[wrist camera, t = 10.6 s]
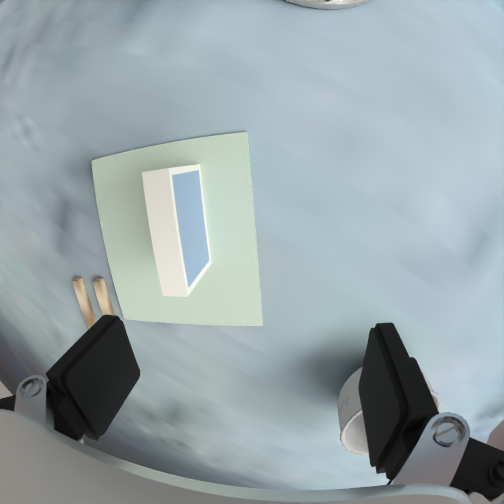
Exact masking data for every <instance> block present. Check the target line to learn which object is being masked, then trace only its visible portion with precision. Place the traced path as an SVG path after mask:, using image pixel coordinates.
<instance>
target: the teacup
mask: <svg viewBox="0 0 504 504" xmlns="http://www.w3.org/2000/svg"><path fill="white" fill-rule="evenodd" d="M362 367H363V366H362ZM362 367H361V368H359V369H358V370H357V371H355V372H354V373H353V374H352V375H351V376H350V377H349V378H348V379H347V380H346V382H345V383H344V385H343V387H342V389H341V391H340V394H339V398H338V415H339V424H340V430H341V434H340V440H341V443H342V445H343V446H344V448H345V449H346V450H349V451H350V452H353V453H355V454H360V455H369V451H368V444H367V437H366V431H365V425H364V419H363V413H362V407H361V402H360V397H359V391H358V386H359V380H360V376H361V372H362ZM421 372H422V370H421ZM422 374H423V376H424V378H425V381H426V383H427V385H428V387H429V390H430V392H431V395H432V397H433V399H434V402H435V404H436V407H437V409H438V412H439V410H440V399H439V396H438V395H437V393H436V392H434V390H433V388H432V386H431V384H430V383H429V381H428V379H427V378H426V376H425V375H424V373H423V372H422Z"/></svg>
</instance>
